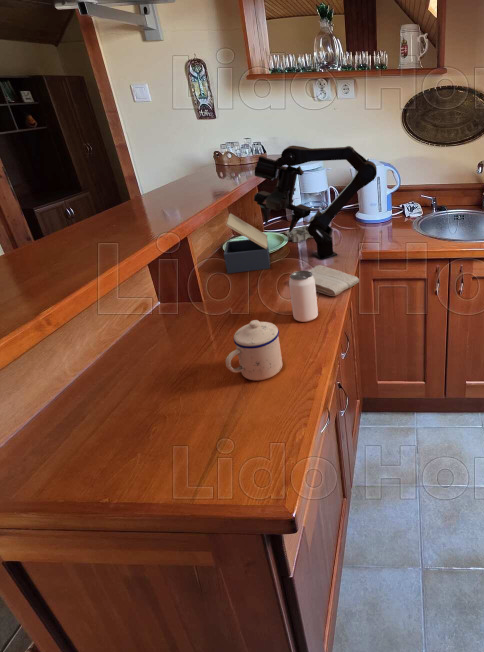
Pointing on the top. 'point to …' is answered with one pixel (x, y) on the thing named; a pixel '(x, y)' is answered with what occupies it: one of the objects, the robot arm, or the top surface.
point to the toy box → (245, 256)
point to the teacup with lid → (257, 351)
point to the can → (303, 296)
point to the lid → (247, 230)
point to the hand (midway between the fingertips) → (278, 227)
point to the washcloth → (332, 280)
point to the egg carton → (298, 234)
